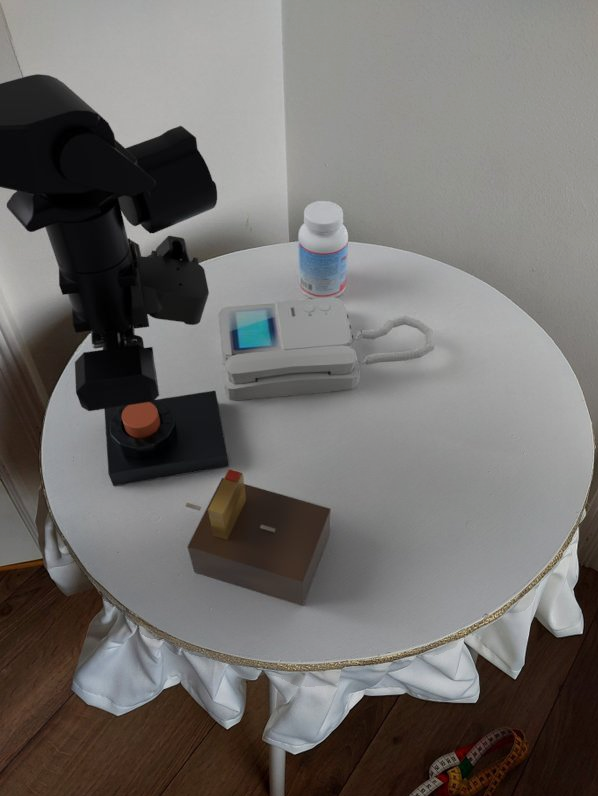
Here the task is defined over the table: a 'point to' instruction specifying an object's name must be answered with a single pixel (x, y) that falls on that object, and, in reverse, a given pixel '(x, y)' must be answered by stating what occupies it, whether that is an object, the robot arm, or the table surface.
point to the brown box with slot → (265, 545)
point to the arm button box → (168, 440)
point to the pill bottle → (322, 251)
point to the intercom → (298, 348)
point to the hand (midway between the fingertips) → (130, 383)
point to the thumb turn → (227, 504)
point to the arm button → (141, 420)
